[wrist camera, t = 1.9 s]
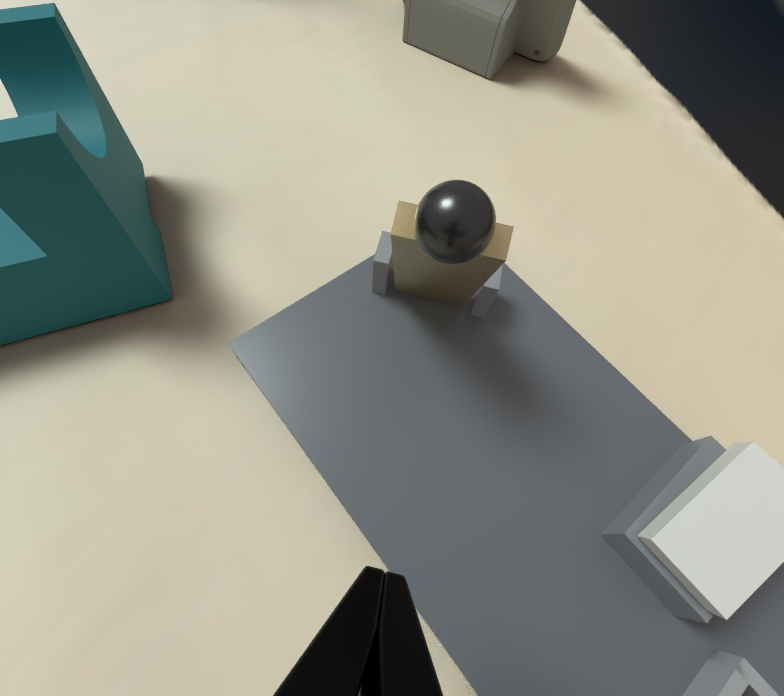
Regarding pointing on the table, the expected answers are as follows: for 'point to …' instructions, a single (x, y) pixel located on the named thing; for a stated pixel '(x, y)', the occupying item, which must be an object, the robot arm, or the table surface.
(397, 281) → the brass lever
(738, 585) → the rocker switch
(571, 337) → the control panel
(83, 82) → the teal curved cradle
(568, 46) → the table surface
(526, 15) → the digital clock
